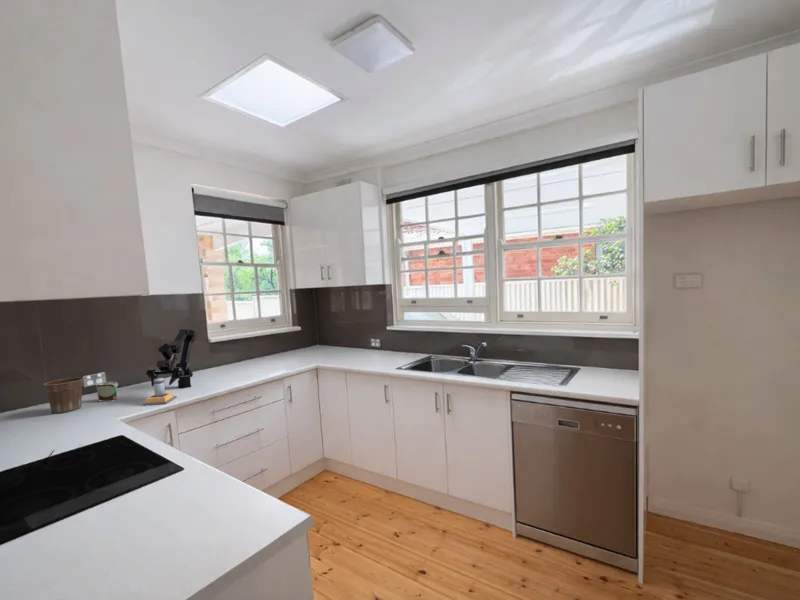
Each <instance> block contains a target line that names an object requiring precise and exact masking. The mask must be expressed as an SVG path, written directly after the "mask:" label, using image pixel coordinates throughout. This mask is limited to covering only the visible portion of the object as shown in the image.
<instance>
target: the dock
mask: <svg viewBox="0 0 800 600" xmlns="http://www.w3.org/2000/svg"><path fill="white" fill-rule="evenodd" d="M176 398H178V397H177V395H174V392H165V396H164V397H155V393H154V394H152V395H150V396H148V397H147V398H145V402H144V403H142V406H143V407H147V406H146V405H149V406H161V405H167V404H169V403H171V402H172V401H174V400H175V399H176Z"/></svg>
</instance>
